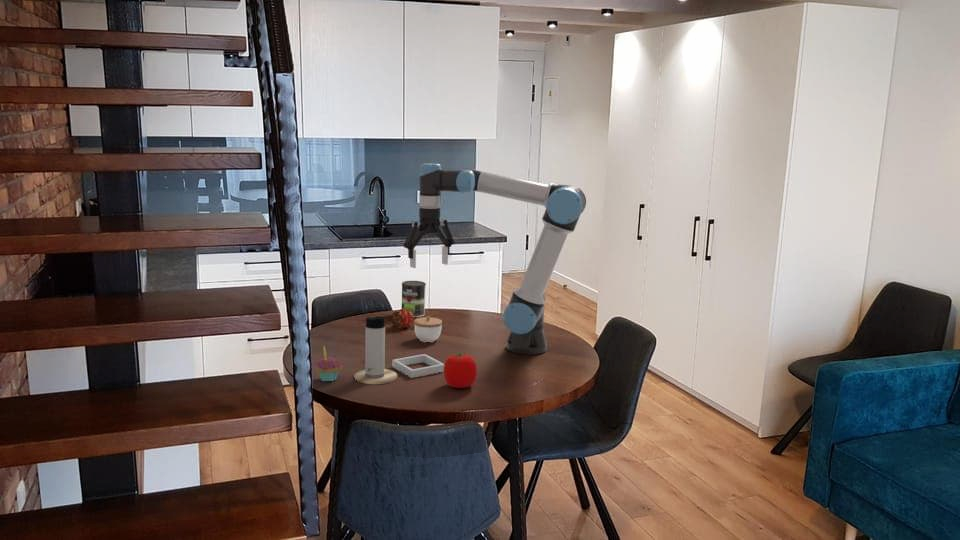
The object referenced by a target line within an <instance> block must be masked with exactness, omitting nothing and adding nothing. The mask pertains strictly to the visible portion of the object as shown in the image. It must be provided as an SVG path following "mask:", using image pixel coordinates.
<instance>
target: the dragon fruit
mask: <svg viewBox="0 0 960 540" xmlns="http://www.w3.org/2000/svg"><path fill="white" fill-rule="evenodd" d="M412 315H413V314H412V312H411V311H408V309H404V310H402V308H400V309H399V310H396V311H394V312H392V317H391V320H390V321H391V323H392V325H393V326H397V329H400V330H402V329H404V328H406V329H409V328H411V325H412V324H413V323H414V320H415V318H414V317H413V316H412Z"/></svg>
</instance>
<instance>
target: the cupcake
mask: <svg viewBox="0 0 960 540" xmlns="http://www.w3.org/2000/svg"><path fill="white" fill-rule="evenodd" d="M326 349H327V348H326V347H325V345H324V344H323V355H324V356H323V357H322V358H321V359H319V360H317V361H316V362H315V364H314V366H315V367H314V371H316V372H318V374H319V377H320V380H321V381H322V382H324V381H332V382H335V381H336V380H337V377H338V374H339V372H340V371H341V370H342V369H343V365H342V362H341V360H339V359H337V358H336V357H333V356H331V357H327V350H326ZM334 380H335V381H334Z"/></svg>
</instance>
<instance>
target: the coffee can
mask: <svg viewBox="0 0 960 540" xmlns="http://www.w3.org/2000/svg"><path fill="white" fill-rule="evenodd" d="M426 284H427V283H426V282H424V281H422V280H421V281H420V280H405V281H402V282H401V309H402V310H404V309H408V311H411V312H412V314H413V315H412V316H413V317H417V318H423V317H424V316H425V312H426V309H425V307H426ZM422 316H423V317H422Z"/></svg>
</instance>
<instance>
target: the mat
mask: <svg viewBox="0 0 960 540" xmlns="http://www.w3.org/2000/svg"><path fill="white" fill-rule="evenodd" d="M384 371H385V375H384V376H383V377H381V378H368V377H366V375H365V369H362V370H361V369H360V370H359V371H357V372H355V374H353V378H355V379H354V380H355V381H356V380H357V381H356V382H357V383H360V384H366V385H384V384H385V385H386V384H389V383H392V382H395V381H396V380H397V379H398V374H397V372H395V371H394V370H392V369H387V368H385V370H384Z"/></svg>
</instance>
